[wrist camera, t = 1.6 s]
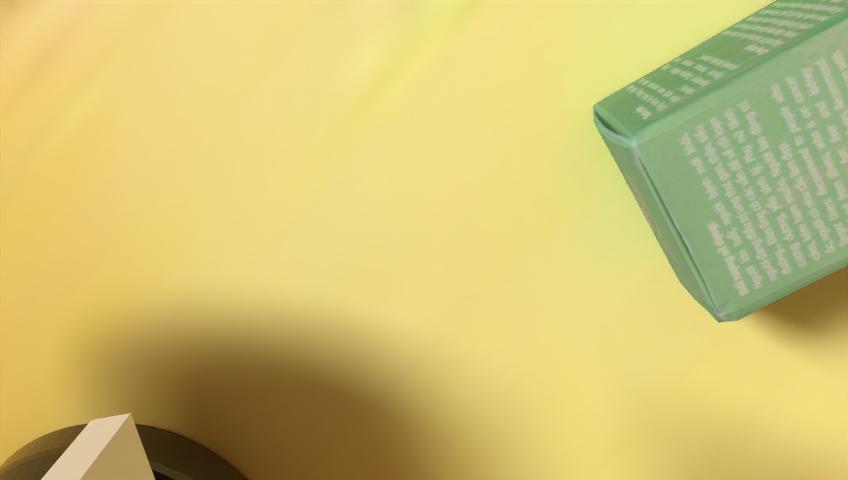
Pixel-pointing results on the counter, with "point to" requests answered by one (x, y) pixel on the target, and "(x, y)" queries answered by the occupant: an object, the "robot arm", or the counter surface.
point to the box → (744, 155)
